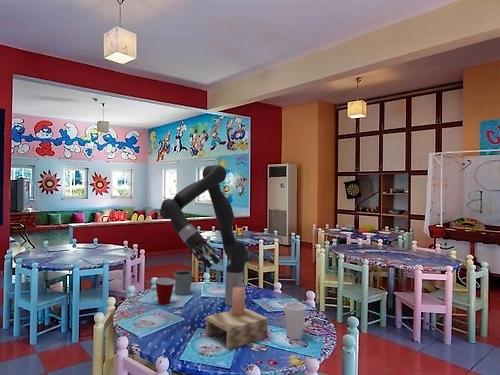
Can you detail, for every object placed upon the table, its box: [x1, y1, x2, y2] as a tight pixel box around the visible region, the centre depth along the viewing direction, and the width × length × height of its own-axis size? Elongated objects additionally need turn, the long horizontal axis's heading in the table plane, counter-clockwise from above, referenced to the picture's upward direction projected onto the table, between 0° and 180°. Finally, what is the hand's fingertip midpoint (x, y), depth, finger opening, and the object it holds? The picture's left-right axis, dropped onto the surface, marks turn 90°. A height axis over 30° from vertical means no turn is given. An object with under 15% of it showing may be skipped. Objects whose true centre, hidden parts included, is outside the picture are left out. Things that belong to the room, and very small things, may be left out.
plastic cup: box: [154, 277, 176, 306], centre depth 187 cm, size 11×11×12 cm
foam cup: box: [283, 301, 308, 340], centre depth 151 cm, size 10×9×13 cm
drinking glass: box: [173, 270, 193, 296], centre depth 204 cm, size 10×10×12 cm
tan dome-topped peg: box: [231, 286, 246, 317], centre depth 152 cm, size 5×5×11 cm
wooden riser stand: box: [205, 307, 269, 351], centre depth 149 cm, size 20×16×8 cm
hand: (214, 264), depth 155 cm, fingers open, 8 cm apart
